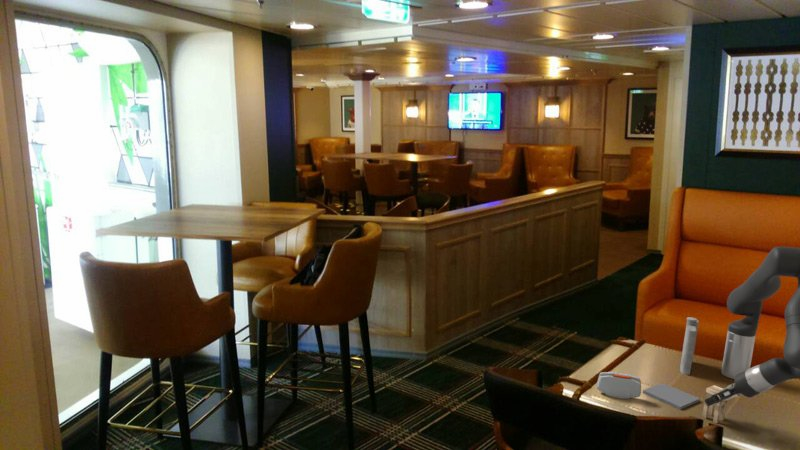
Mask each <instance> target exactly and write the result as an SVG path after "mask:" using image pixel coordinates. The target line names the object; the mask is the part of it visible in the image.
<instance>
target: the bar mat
mask: <svg viewBox="0 0 800 450" xmlns="http://www.w3.org/2000/svg"><path fill="white" fill-rule="evenodd" d="M642 393H643V394H644V395H647V396H649V397H651V398H653V399H655V400H658V401H660V402H662V403H665V404H667V405H669V406H671V407H673V408H676V409H678V410H683V409H686V408H688V407H690V406H692V405H694V404H697V403H699V402H700V401H701V398H699V397H696V396H695V395H692V394H690V393H687V392H686V391H682V390H681V389H678V388H676V387H674V386H670V385H668V384H666V383H663V382H662V383H659V384H655V385H653V386H651V387H648V388H645V389H643V390H642Z"/></svg>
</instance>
